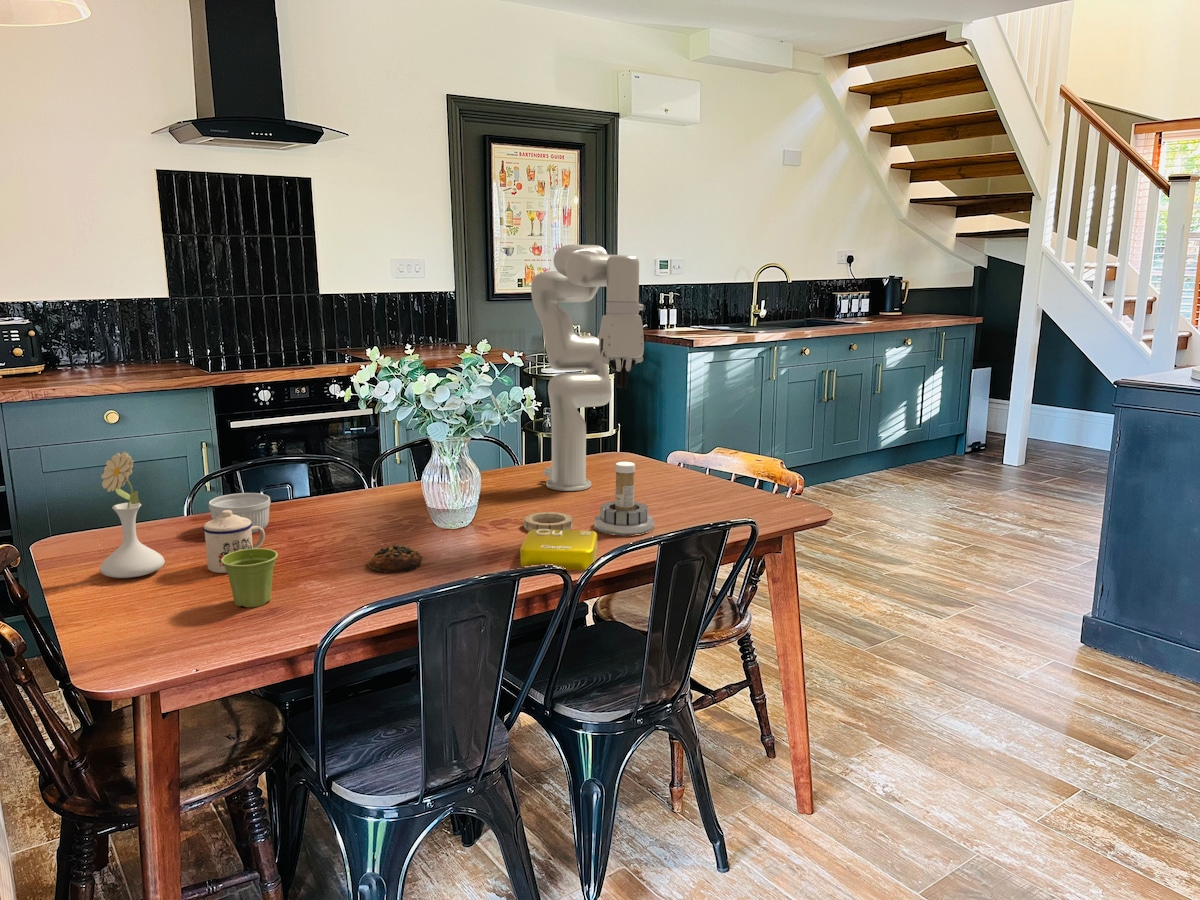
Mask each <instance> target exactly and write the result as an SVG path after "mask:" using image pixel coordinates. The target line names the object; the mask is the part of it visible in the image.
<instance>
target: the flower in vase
mask: <svg viewBox="0 0 1200 900" xmlns="http://www.w3.org/2000/svg"><path fill="white" fill-rule="evenodd" d="M134 462H135V460H133V459H132V457H131V455H129V452H127V453H126V451H123V452H122V453H121V454H120V452H117V453H116V454H115V455H112V456H111V460H110V459H108V460H107V461H106V462H105V463H106V466H104V468H103V473H102V474H101V479H102V482H101V486H102V489H107V490H106V491H107V492H108V493H110V492H115V494H116V495H118V496H119V497H121V498H123V499H125V500H128V502H122V503H117V504H114V505H113V506H112V507H111V508H112V509H113V511H114V512H115V513H116V514H117V516H118V517H119V521H120V522H121V527H122V534H123V535H122V536H123V538H122V542H121V544H120V546H119V547H117V548H116V550H114V551H113V552H112V553H111V554H110V555H108V557H106V558H105V559H104V560H103V562H102V563H101V565H100V567H99V571H100V572H101V574H102V575H104V576H106V577H110V578H114V579H115V578H116V579H129V578H137V577H142V576H146V575H149V574H152V573H155V572H156V571H159V570H161V568H163V566H164V565H165V562H166V560H165V558H164V556H163V555H162V554H160V553H159V552H158V551H156V550H154V549H152V548H150V547H148V546H147V545H145V544H144V543H142V542H140V541H139V539H138V536H137V530H136V529H137V527H136V524H137V523H136V521H137V520H136V519H137V514H138V511H139V509H140V507H141V506H142V503H141V501H140V500H139V499H140V498H139V494H138V491H137V490H135V491H134V489H133V487H132V484H131V482H130V480H129V476H131V475H132V474H133V470H132V469H133V467H134V465H133V464H134ZM126 483H127V484H128V486H129V489H130V494H129V493H128V492H126V491H125V490H122V487H124V486H125V484H126Z"/></svg>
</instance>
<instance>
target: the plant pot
mask: <svg viewBox="0 0 1200 900" xmlns="http://www.w3.org/2000/svg"><path fill="white" fill-rule="evenodd" d="M278 557H279V555H278V552H277V551H276V550H274V549H271V548H261V547H259V548H253V549H244V550H239V551H235V552H231V553H229V554H227V555H225V556H223V558H222V559H221V562H222V563H223V564H224V566H225V569H226V571H227V573H226V574H227V575H228V581H229V585H230V588H231V589H230V590H231V592H232V596H233V597H232V598H233V602H234V604H235V606H237V607H246V608H252V609H253V608H256V607H261V606H264V605H266V603H267V602H271V599H272V590H273V589H272V588H273V587H272V586H273V585H272V584H273V575H274V567H275V564H276V559H277V558H278Z"/></svg>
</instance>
